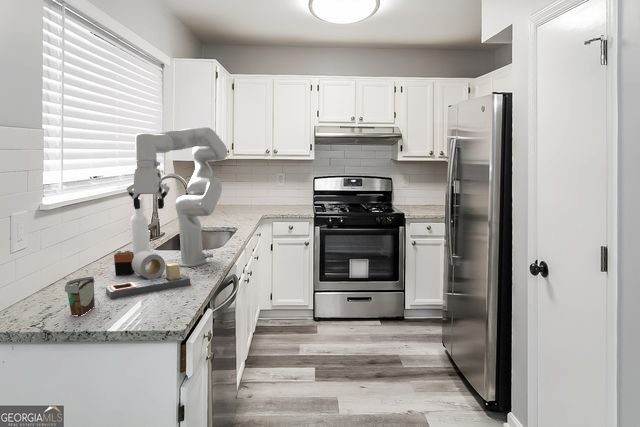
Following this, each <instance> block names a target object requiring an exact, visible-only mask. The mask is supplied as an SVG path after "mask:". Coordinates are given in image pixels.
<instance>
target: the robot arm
mask: <svg viewBox="0 0 640 427" xmlns="http://www.w3.org/2000/svg"><path fill="white" fill-rule="evenodd" d="M134 138H135V139H134V141H135V144H134V145H135V158H136V159H135V160H136V161H135V162H136V163H135V164H136V168H135V170H134V173H133V174H134V175H133V183H132V184H130V186H127V187H126V191H127V193H128V195H129V196H130V197H131V199H132V200H134V203H133V208H134V207H135V209H140V199H138V198H139V197H140V196H141V195H156V196H157V197H158V199H157V208H158V210H160V209H161V210H162V209H164V207H165V200H164V199H165V197H166V196H167V195H168V193H169V191H170V186H168V185H166V184H164V183H163V181H162V174H161V170H160V168H158V166H161V162H159V161H158V158H157V154H165V153H166V154H167V153H169V152H170V151H182V150H186V149H190V148H192V151H191V152H192V157H193V161H194V172H193V174H192V176H191V177H190V179H189V180H190V181H189V182H188V184H187V188H186V191H187V194H185V195H181V196H179V197H177V199H176V200H175V210H176V214H177V219H178V227H179V228H178V230H179V240H180V242H179V243H180V258H181V260H179V261H177V264H179V267H184V268H185V267H198V266H203V265H205V264H207V260H206V259H211V258H213V257H214V253H209V252H208V253H206V252H203V240H202V225H201V222H200V220H199V218H198V217H208V216H211V215H212V214H213V213H214V212H215V210H216V207H217V205H218V201H219V199H220V197H221V195H222V192H223V191H222V190H223V186H222V185H223V184H222V182H221V179H219V178H218V177H215V176H213V174H214V172H213V168H212V167H211V166H210V164H209V162H215V161H216V162H218V161H219V162H220V161H223V160H225V159H226V158H227V156H228V148H227V146H226V144H225V143H224V141H223V140H222V139H221V138H220V136H219V135H218V134H217V133H216V132H215V131H214V130H213V129H212V128H210V127H193V128H192V127H191V128H184V129H177V130H170V131H164V132H157V133H148V132H147V133H146V132H145V133H144V132H143V133H137V134H135V137H134Z"/></svg>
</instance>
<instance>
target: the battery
mask: <svg viewBox="0 0 640 427" xmlns="http://www.w3.org/2000/svg"><path fill="white" fill-rule="evenodd" d="M133 258H134V253H133V252H132V251H131V250H124V252H122V250H120V251H119V250H118V251H117V252H116V253H114V254H113V259H114V271H115V276H132V275H134V274H135V273H136V272H135V271H134V270H133V268H132V260H133Z"/></svg>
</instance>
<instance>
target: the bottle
mask: <svg viewBox="0 0 640 427" xmlns="http://www.w3.org/2000/svg"><path fill="white" fill-rule="evenodd" d="M138 199H140V209H135V207H134V206H133V213H134V214H132V216H131V217H130V220H129V224H130V238H131V250H132V251H131V252H133V253H134V256H135V255H136V254H137V253H139V252H142V251H148V252H151V247H150V246H151V245H150V233H149V221H148V218H147V216H146V214H144V213H143V200H142V198H139V197H138ZM132 200H133V199H132ZM132 203H133V204H134V200H133V201H132ZM148 262H151V260H149V261H148ZM148 262H147V263H148Z"/></svg>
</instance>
